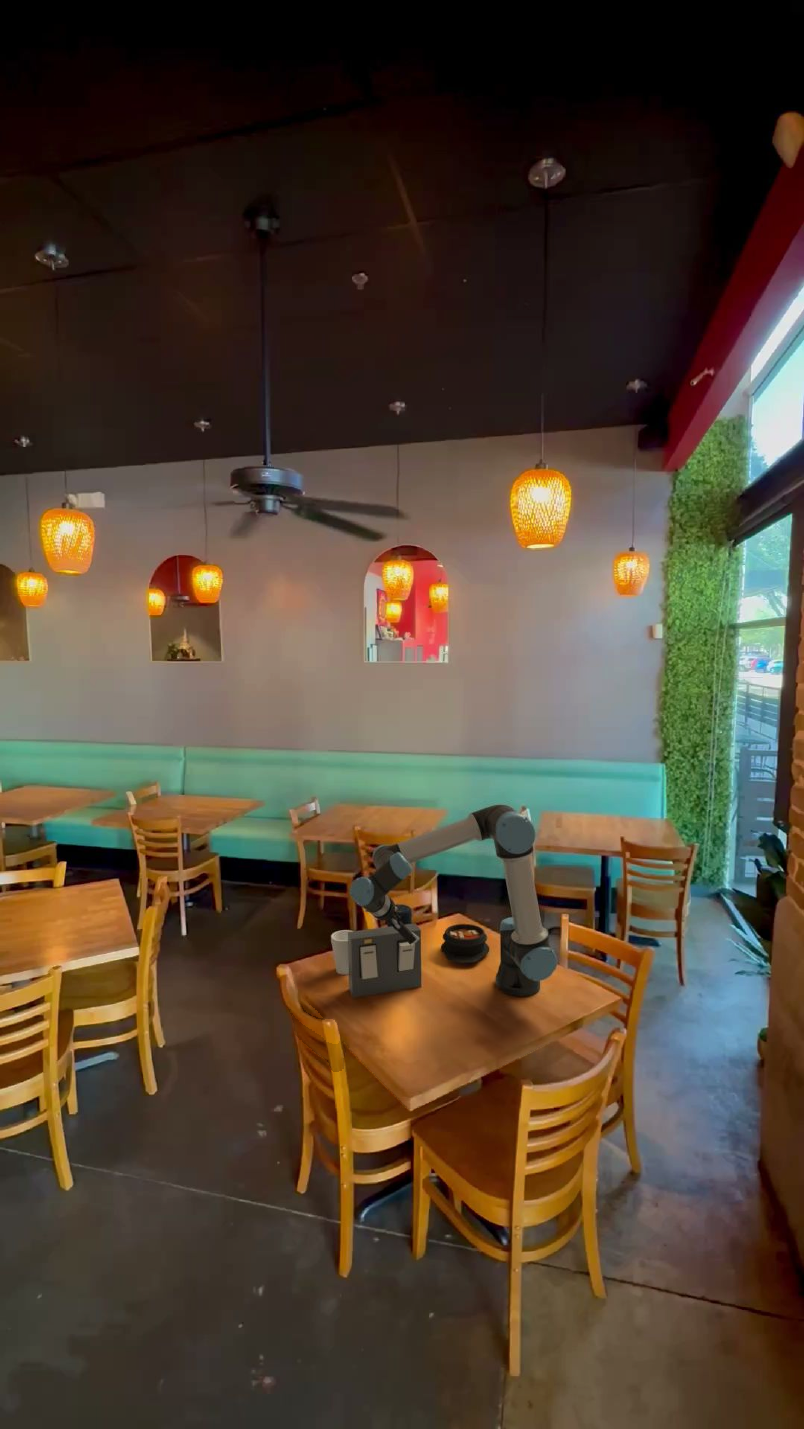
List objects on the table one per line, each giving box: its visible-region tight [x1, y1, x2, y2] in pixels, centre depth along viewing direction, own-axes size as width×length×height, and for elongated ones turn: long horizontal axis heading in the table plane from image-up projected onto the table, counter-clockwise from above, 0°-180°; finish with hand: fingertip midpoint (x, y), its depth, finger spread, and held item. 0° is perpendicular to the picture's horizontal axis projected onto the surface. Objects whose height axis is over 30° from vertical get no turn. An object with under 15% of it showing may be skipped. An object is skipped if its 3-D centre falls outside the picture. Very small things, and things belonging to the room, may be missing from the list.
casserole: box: [440, 923, 491, 964], centre depth 244 cm, size 25×19×8 cm
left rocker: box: [360, 945, 378, 979], centre depth 211 cm, size 2×5×10 cm, turn 106°
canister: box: [386, 903, 413, 927], centre depth 246 cm, size 10×10×18 cm
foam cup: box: [330, 929, 354, 975], centre depth 230 cm, size 10×9×13 cm
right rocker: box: [398, 942, 415, 971], centre depth 215 cm, size 2×5×10 cm, turn 106°
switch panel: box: [348, 922, 422, 999], centre depth 221 cm, size 16×24×20 cm, turn 106°
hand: (404, 925), depth 215 cm, fingers open, 13 cm apart
